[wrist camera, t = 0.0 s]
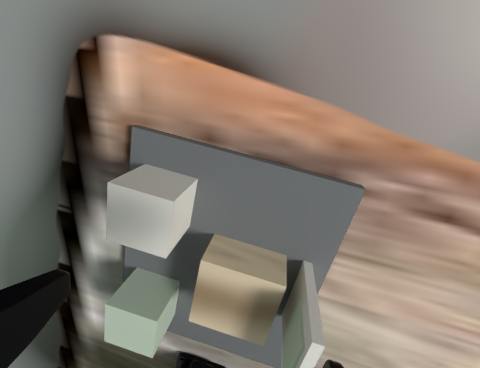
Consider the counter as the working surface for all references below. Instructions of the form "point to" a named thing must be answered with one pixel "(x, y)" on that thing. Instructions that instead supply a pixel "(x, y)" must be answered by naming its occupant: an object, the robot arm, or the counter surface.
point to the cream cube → (149, 209)
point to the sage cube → (141, 312)
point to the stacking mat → (251, 236)
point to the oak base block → (239, 289)
